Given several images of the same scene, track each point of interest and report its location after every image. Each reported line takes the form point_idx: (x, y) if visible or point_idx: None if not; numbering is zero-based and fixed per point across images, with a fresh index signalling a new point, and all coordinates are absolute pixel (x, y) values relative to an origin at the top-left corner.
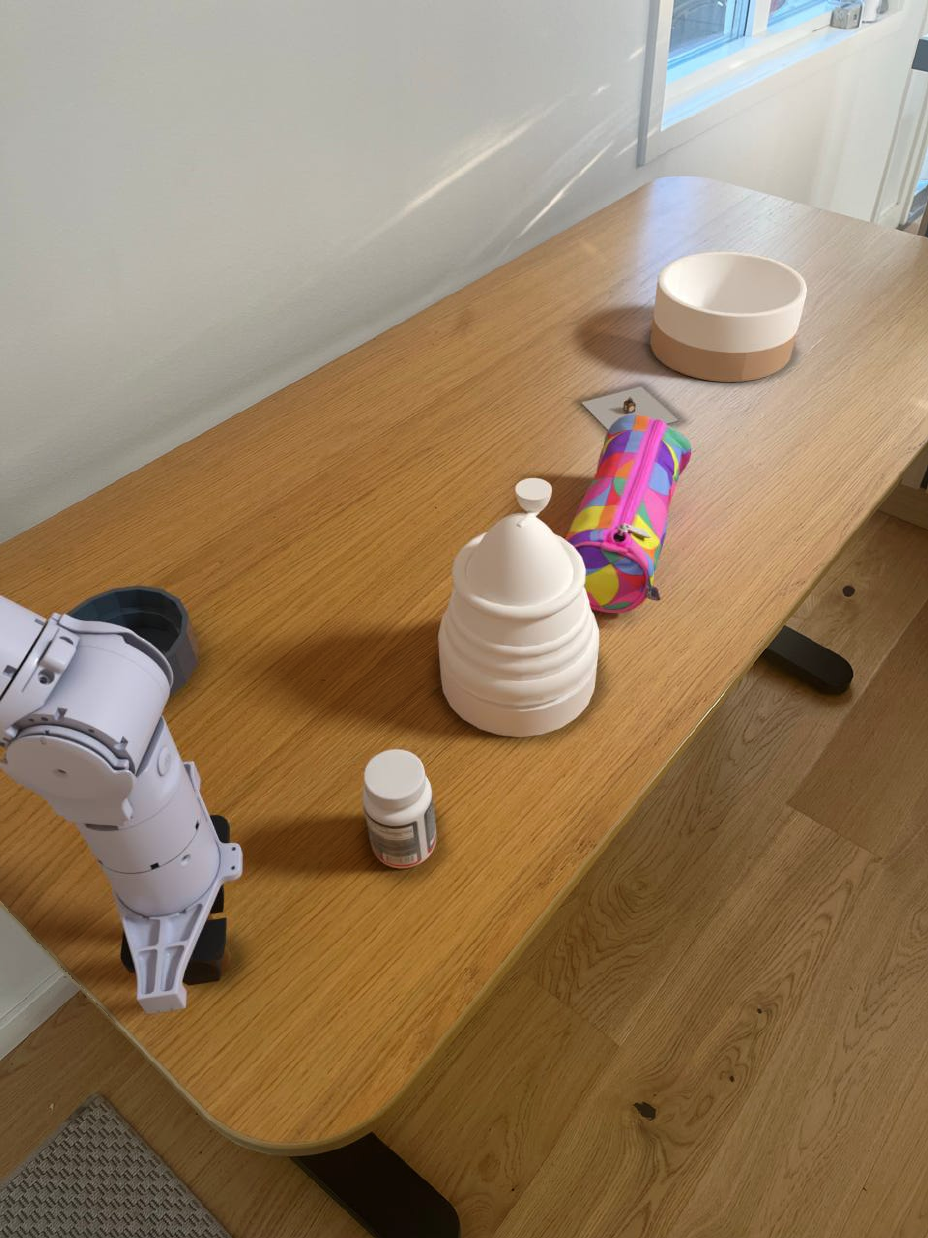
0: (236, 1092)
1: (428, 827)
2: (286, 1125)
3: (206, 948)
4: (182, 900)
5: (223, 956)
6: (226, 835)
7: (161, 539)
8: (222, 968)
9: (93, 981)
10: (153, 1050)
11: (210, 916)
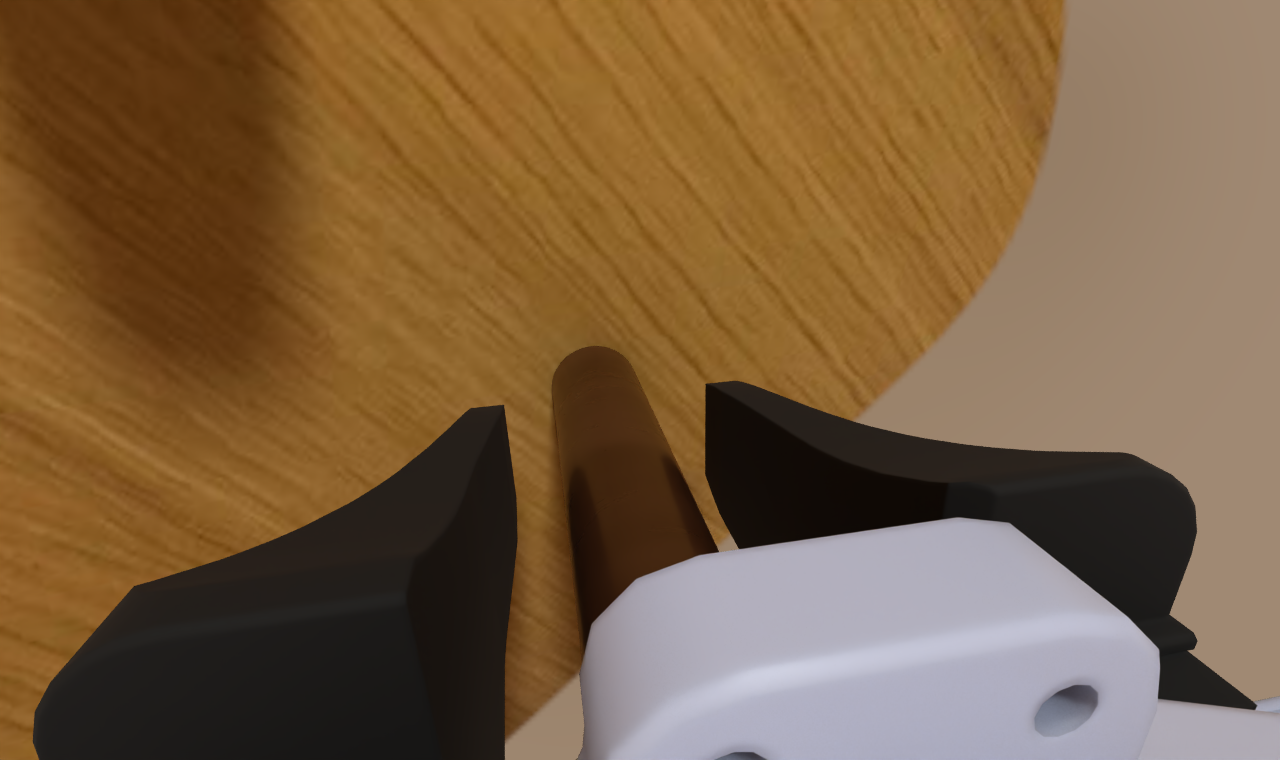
0: (915, 295)
1: None
2: (1018, 167)
3: (1138, 566)
4: None
5: (624, 375)
6: (271, 632)
7: None
8: (630, 369)
9: None
10: None
11: (635, 481)
